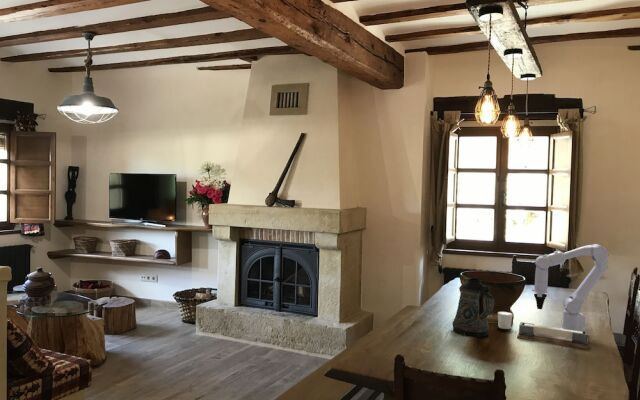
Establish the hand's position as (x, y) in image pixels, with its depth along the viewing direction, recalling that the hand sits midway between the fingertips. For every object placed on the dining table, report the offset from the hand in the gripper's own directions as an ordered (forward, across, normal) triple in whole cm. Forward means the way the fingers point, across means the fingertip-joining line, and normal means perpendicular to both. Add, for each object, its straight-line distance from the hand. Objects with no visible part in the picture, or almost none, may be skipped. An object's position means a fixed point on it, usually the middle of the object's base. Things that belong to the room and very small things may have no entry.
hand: (539, 308), depth 263 cm
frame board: (+9, +19, +7) cm, 22 cm away
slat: (+7, +19, +7) cm, 21 cm away
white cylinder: (+10, +8, -15) cm, 20 cm away
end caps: (+9, +19, +7) cm, 22 cm away
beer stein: (+10, +27, -26) cm, 39 cm away
